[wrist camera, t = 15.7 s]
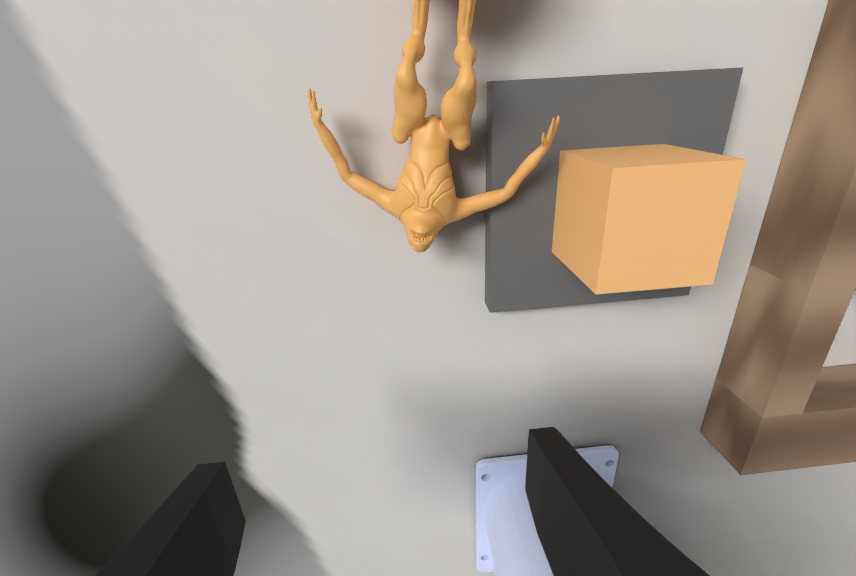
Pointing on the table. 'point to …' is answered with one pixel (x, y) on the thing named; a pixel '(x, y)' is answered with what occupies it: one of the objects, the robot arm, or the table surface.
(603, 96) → the mat
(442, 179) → the figurine
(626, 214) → the block
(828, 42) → the puzzle board
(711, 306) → the table surface
